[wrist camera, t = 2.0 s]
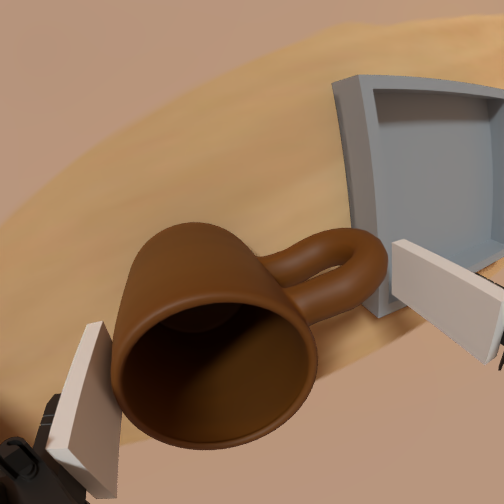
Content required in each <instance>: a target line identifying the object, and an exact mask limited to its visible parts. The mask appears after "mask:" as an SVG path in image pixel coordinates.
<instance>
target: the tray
mask: <svg viewBox="0 0 504 504" xmlns="http://www.w3.org/2000/svg"><path fill="white" fill-rule="evenodd" d="M332 88H333V93H334V98H335V104H336V109H337V115H338V121H339V128H340V134H341V141H342V148H343V155H344V162H345V170H346V178H347V187H348V196H349V206H350V217H351V228H358V229H362V230H366V231H368V232H370V233H371V234H373V235H374V236H376V237H377V238H379V239H380V240H381V242H382V243H383V245H384V247H385V249H386V252H387V254H388V268H387V274H386V277H385V279H384V281H383V282H382V283H381V285H380V286H379V287H378V289H377V290H376V291H375V292H374V293H373V294H372V295H371V296H370V297H369V298H368V299H367V300H365V301H364V302H363V303H362V305H363V306H364V307H365V308H367V309H368V310H369V311H370V312H371V313H373V314H374V315H375V316H376V317H377V318H381V317H383V316H385V315H388V314H390V313H392V312H395V311H397V310H399V309H401V308H404V307H406V306H407V305H406V304H405V303H403V302H402V301H401V300H399V299H398V298H396V297H395V296H394V295H392V242H395V241H398V240H402V239H405V240H408V241H410V242H412V243H414V244H416V245H418V246H420V247H422V248H424V249H427V250H429V251H431V252H433V253H435V254H437V255H439V256H441V257H443V258H445V259H447V260H449V261H451V262H453V263H455V264H457V265H459V266H461V267H463V268H465V269H467V270H469V271H471V272H474V273H475V272H477V271H479V270H481V269H483V268H485V267H486V266H488V265H490V264H492V263H494V262H495V261H497V260H499V259H501V258H502V257H504V90H503V89H498V88H493V87H488V86H482V85H476V84H470V83H464V82H457V81H449V80H441V79H431V78H421V77H407V76H389V75H356V76H352V77H349V78H346V79H343V80H340V81H337V82H334V83H332Z"/></svg>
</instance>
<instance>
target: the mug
mask: <svg viewBox="0 0 504 504" xmlns="http://www.w3.org/2000/svg"><path fill="white" fill-rule="evenodd" d="M338 265H342V266H340V267H338V268H336V269H334V270H332V271H329V272H327V273H324V274H322V275H320V276H317V277H315V278H312V279H310V280H307V279H309V278H311V277H312V276H314V275H315V274H317V273H319V272H321V271H323V270H325V269H327V268H330V267H333V266H338ZM387 268H388V254H387V252H386V249H385V247H384V245H383V243H382V242H381V240H380V239H379V238H377V237H376V236H374V235H373V234H371V233H370V232H368V231H366V230H362V229H358V228H338V229H331V230H327V231H323V232H320V233H317V234H314V235H312V236H309V237H307V238H305V239H303V240H301V241H299V242H298V243H296V244H294V245H292V246H291V247H289V248H287V249H285V250H283V251H281V252H277V253H274V254H272V255H268V256H264V257H257V256H255V255H254V254H253V253H252V252H251V251H250V249H249V248H248V247H247V246H246V245H245V244H244V243H243V242H242V241H241V240H240V239H239V238H237V237H236V236H235V235H234V234H232V233H231V232H229V231H227V230H225V229H223V228H221V227H218V226H215V225H211V224H207V223H198V222H190V223H182V224H178V225H174V226H172V227H169V228H167V229H165V230H163V231H161V232H159V233H158V234H156V235H155V236H153V237H152V238H151V239H150V240H149V241H148V242H147V243H146V244H145V245H144V246H143V247H142V248H141V250H140V251H139V252H138V254H137V256H136V258H135V260H134V262H133V264H132V267H131V269H130V272H129V276H128V279H127V283H126V286H125V289H124V292H123V296H122V300H121V304H120V308H119V312H118V316H117V320H116V324H115V329H114V335H113V342H112V360H111V385H112V389H113V394H114V396H115V398H116V401H117V403H118V405H119V407H120V408H121V410H122V411H123V413H124V414H125V416H126V417H127V418H128V419H129V420H130V421H131V423H133V424H134V425H135V426H136V427H137V428H138V429H139V430H141V431H142V432H144V433H145V434H147V435H148V436H150V437H152V438H154V439H156V440H158V441H161V442H163V443H166V444H169V445H172V446H176V447H180V448H186V449H193V450H217V449H226V448H231V447H236V446H239V445H243V444H246V443H249V442H252V441H254V440H257V439H259V438H261V437H263V436H265V435H267V434H269V433H271V432H272V431H274V430H276V429H277V428H278V427H280V426H281V425H282V424H284V423H285V422H286V421H287V420H289V419H290V418H291V417H292V416H293V415H294V414H295V413H296V412H297V411H298V410H299V408H300V407H301V406H302V404H303V403H304V402H305V400H306V399H307V397H308V395H309V393H310V392H311V389H312V387H313V384H314V382H315V378H316V374H317V366H318V356H317V347H316V343H315V339H314V337H313V335H312V332H311V330H310V328H309V326H310V325H312V324H314V323H317V322H319V321H322V320H325V319H328V318H330V317H333V316H336V315H338V314H341V313H343V312H346V311H349V310H351V309H354V308H355V307H357V306H359V305H360V304H362V303H363V302H364V301H365V300H367V299H368V298H369V297H370V296H371V295H372V294H373V293H374V292H375V291H376V290H377V289H378V287H379V286H380V285H381V283H382V282H383V281H384V279H385V277H386V274H387ZM306 280H307V281H306Z"/></svg>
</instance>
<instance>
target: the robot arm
mask: <svg viewBox="0 0 504 504" xmlns="http://www.w3.org/2000/svg"><path fill="white" fill-rule="evenodd" d="M392 295H394V296H395V297H396V298H398V299H399V300H401V301H402V302H403V303H405V304H406V305H407V306H409V307H410V308H411V309H413V310H414V311H415V312H417V313H418V314H419V315H421V316H422V317H423V318H425V319H426V320H427V321H429V322H430V323H431V324H433V325H434V326H435V327H437V328H438V329H439V330H441V331H442V332H443V333H444V334H446V335H447V336H448V337H450V338H451V339H452V340H453V341H455V342H456V343H457V344H459V345H460V346H461V347H462V348H464V349H465V350H466V351H468V352H469V353H470V354H471V355H473V356H474V357H475V358H476V359H478V360H479V361H480V362H481V363H483V364H484V365H486V364H487V363H488V362H490V361H491V360H492V359H494V358H495V357H496V356H497V353H498V349H499V346H500V343H501V344H502V345H503V346H504V287H502V286H500V285H499V284H497V283H494V282H493V281H491V280H489V279H488V280H487V278H486V277H484V276H482V275H480V274H478V273H474V272H471V271H469V270H467V269H465V268H463V267H461V266H459V265H457V264H455V263H453V262H451V261H449V260H447V259H445V258H443V257H441V256H439V255H437V254H435V253H433V252H431V251H429V250H427V249H424V248H422V247H420V246H418V245H416V244H414V243H412V242H410V241H408V240H405V239H402V240H398V241H395V242H392ZM111 360H112V340H111V338H110V336H109V333H108V331H107V329H106V327H105V325H104V322H103V321H99V322H95V323H91V324H87V326H86V328H85V331H84V333H83V336H82V338H81V341H80V343H79V346H78V348H77V351H76V354H75V356H74V359H73V362H72V365H71V367H70V370H69V373H68V376H67V379H66V382H65V384H64V387H63V390H62V393H60V394H54V396H53V397H52V398H51V399H50V401H49V402H48V403H47V405H46V408H45V411H44V414H43V416H44V417H42V420H41V423H40V424H41V426H39V429H38V433H37V436H36V439H35V443H34V446H33V449H32V448H31V447H30V445H29V444H28V443H27V442H26V441H25V440H24V439H23V438H20V437H11V438H9V439H7V440H5V441H4V442H3V443H2V444H1V445H0V504H90V503H89V502H87V501H86V500H85V499H86V490H87V491H88V492H89V493H90V494H91V495H92V496H93V497H95V498H96V499H103V498H104V499H107V498H117V476H118V474H117V473H118V456H119V442H120V429H121V418H122V410H121V408H120V407H119V405H118V403H117V401H116V398H115V396H114V394H113V389H112V385H111ZM503 364H504V353H503V356H502V359H501V361H500V364H499V370H501V369H502V366H503Z"/></svg>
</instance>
